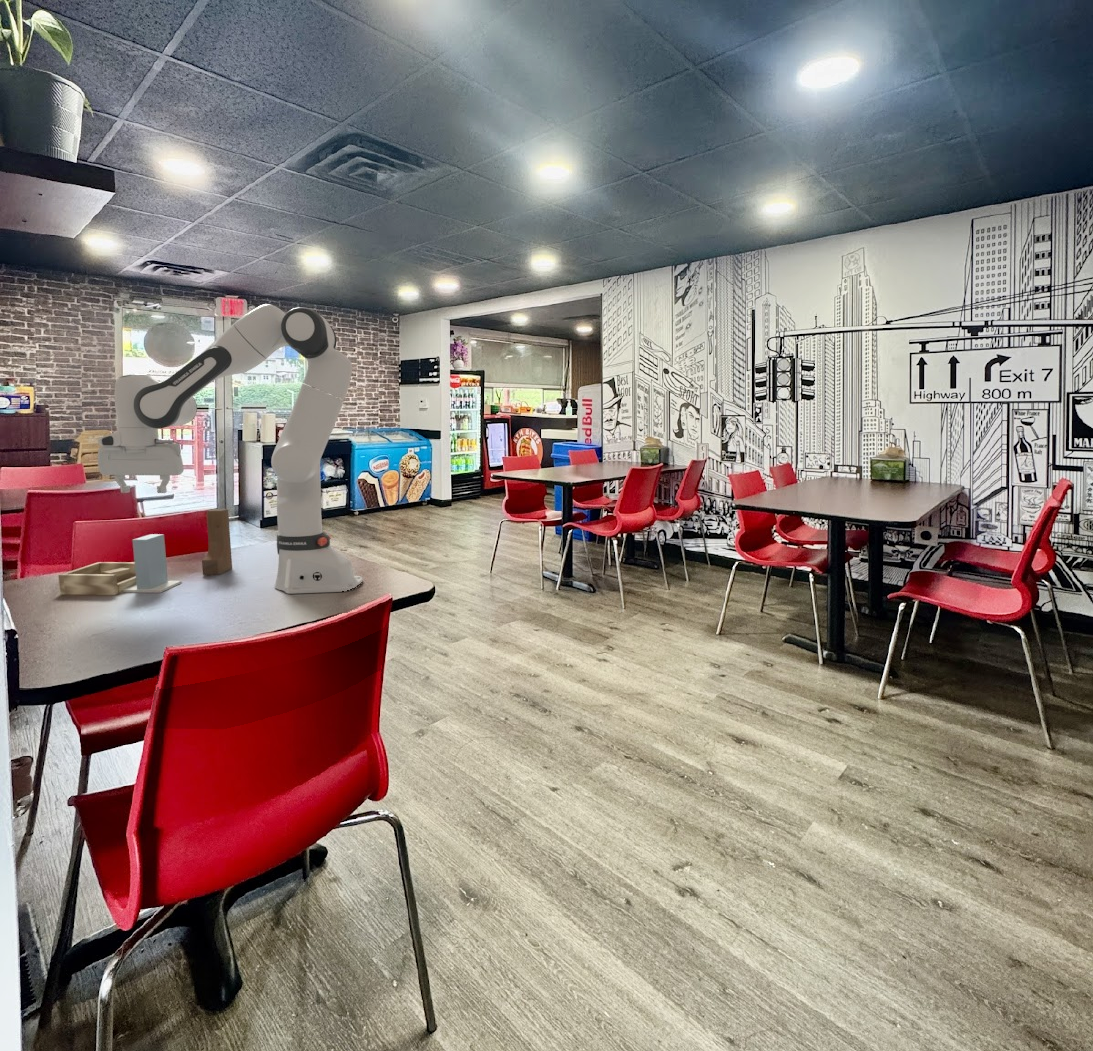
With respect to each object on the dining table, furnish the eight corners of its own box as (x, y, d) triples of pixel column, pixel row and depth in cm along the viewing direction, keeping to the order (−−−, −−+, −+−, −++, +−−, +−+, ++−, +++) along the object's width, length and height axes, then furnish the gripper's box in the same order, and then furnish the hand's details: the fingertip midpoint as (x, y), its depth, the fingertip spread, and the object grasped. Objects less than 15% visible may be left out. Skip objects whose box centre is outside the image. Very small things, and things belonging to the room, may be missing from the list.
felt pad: (181, 582, 182) (181, 580, 182) (160, 592, 172) (160, 590, 172) (145, 582, 182) (144, 580, 182) (121, 592, 172) (121, 589, 172)
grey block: (168, 581, 181) (163, 534, 179) (150, 589, 173) (146, 539, 171) (155, 581, 181) (150, 534, 179) (137, 589, 173) (132, 539, 171)
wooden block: (218, 575, 190) (213, 513, 187) (202, 575, 190) (197, 513, 187) (232, 568, 199) (228, 508, 196) (217, 568, 199) (213, 508, 196)
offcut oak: (131, 577, 179) (130, 568, 178) (110, 582, 174) (109, 573, 173) (123, 576, 180) (122, 567, 179) (103, 581, 175) (102, 571, 174)
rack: (151, 580, 185) (149, 562, 184) (116, 594, 170) (114, 575, 169) (99, 579, 185) (98, 562, 184) (60, 594, 170) (58, 575, 169)
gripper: (186, 438, 174) (190, 491, 176) (107, 438, 174) (112, 491, 176) (172, 439, 168) (177, 494, 170) (91, 439, 168) (96, 494, 170)
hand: (143, 492), depth 173 cm, fingers open, 8 cm apart
